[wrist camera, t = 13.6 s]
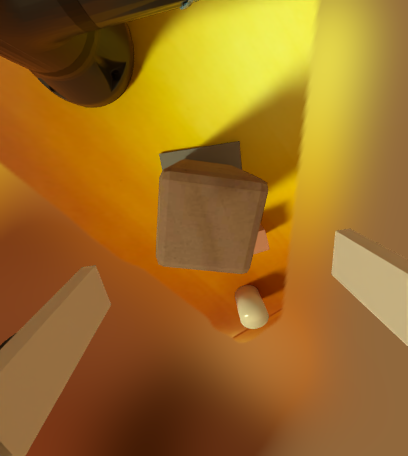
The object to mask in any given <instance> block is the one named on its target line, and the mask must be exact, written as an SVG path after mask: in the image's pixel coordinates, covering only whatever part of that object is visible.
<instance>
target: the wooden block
mask: <svg viewBox="0 0 408 456" xmlns="http://www.w3.org/2000/svg"><path fill="white" fill-rule="evenodd" d="M267 194H268V186H267V182H265V181H263V180H262V179H260V178H258V177H256V176H254V175H252V174H249V173H247V172H245V171H243V170H241V169H239V168H236V167H234V166H232V165H227V164H219V163H211V162H204V161H196V160H189V159H184V160H180V161H179V162H177V163H175V164H173V165H171V166H169V167H167V168H165V169H163V171H162V173H161V175H160V178H159V199H158V220H157V241H156V258H157V260H158V264H160V265H162V266H165V267H176V268H186V269H196V270H206V271H217V272H227V273H237V274H243V273H247V271H248V270H249V268H250V265H251V261H252V257H253V253H254V248H255V244H256V240H257V236H258V232H259V227H260V223H261V219H262V215H263V211H264V206H265V202H266V198H267Z"/></svg>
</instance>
